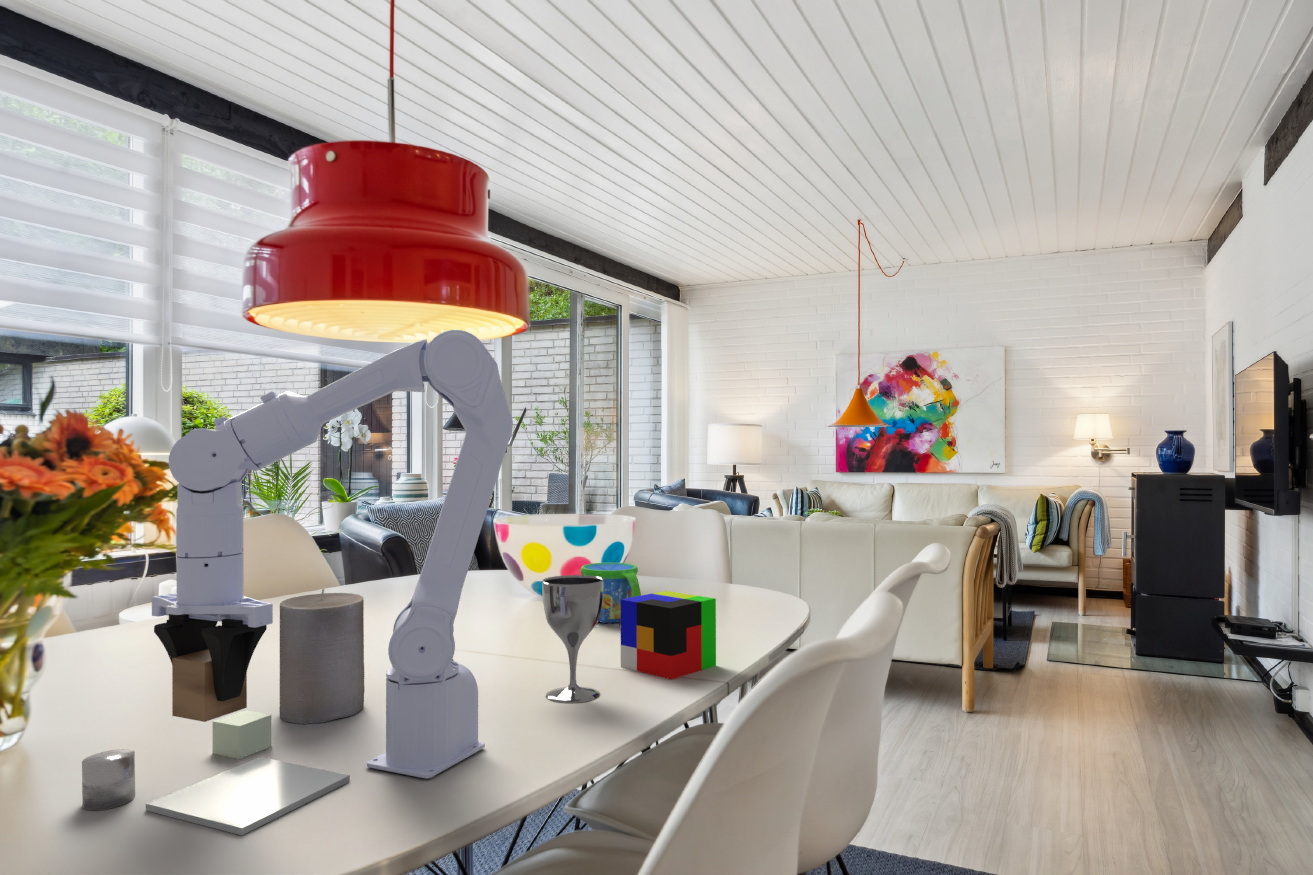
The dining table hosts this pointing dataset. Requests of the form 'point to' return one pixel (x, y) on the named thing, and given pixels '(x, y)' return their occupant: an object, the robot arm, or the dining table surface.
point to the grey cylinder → (108, 779)
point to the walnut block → (200, 689)
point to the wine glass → (572, 624)
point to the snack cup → (614, 587)
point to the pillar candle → (321, 657)
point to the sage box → (242, 734)
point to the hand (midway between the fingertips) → (210, 695)
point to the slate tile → (248, 795)
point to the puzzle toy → (668, 633)
